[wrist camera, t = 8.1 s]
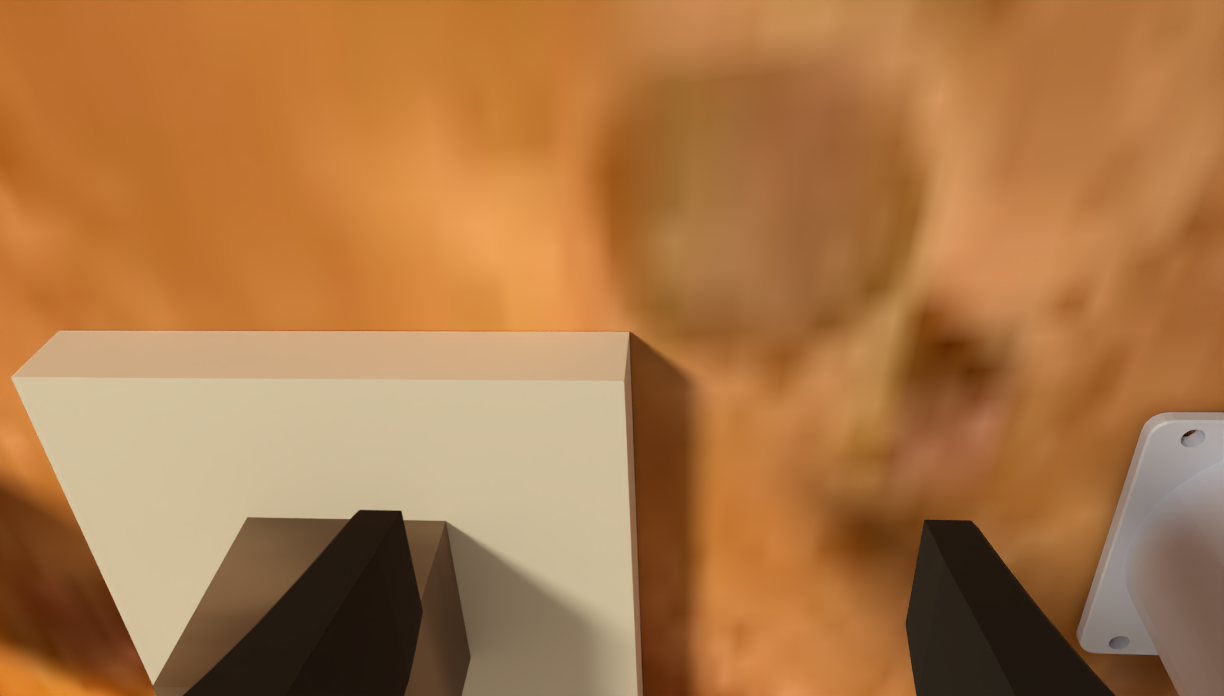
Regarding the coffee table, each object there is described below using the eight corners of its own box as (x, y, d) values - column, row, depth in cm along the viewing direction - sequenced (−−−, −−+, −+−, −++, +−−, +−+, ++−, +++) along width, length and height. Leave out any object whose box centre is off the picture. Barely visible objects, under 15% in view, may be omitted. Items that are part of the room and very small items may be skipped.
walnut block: (445, 521, 23) (391, 694, 19) (470, 657, 26) (428, 835, 22) (247, 517, 24) (152, 686, 20) (292, 652, 27) (217, 826, 22)
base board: (629, 331, 23) (624, 380, 21) (643, 712, 30) (640, 771, 28) (59, 330, 24) (10, 376, 22) (211, 697, 31) (184, 752, 30)
